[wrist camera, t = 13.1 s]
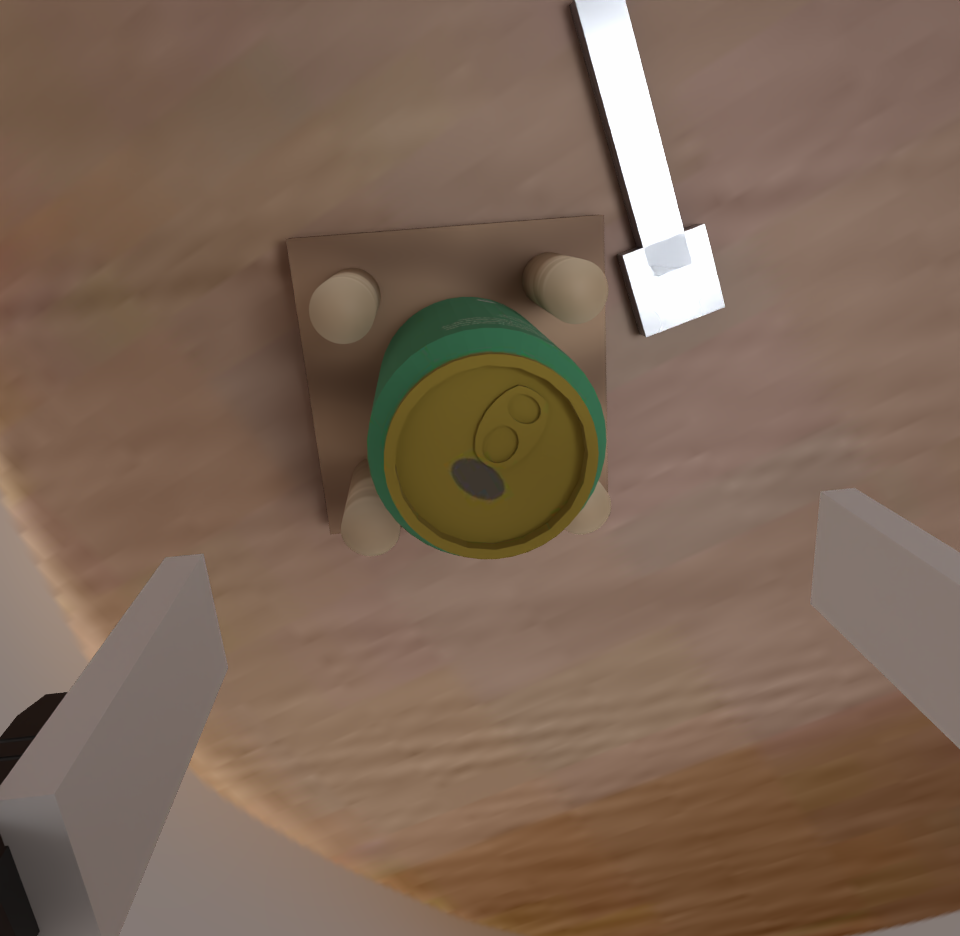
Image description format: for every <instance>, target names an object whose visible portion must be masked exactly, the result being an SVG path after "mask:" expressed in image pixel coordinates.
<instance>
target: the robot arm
mask: <svg viewBox="0 0 960 936" xmlns="http://www.w3.org/2000/svg"><path fill="white" fill-rule="evenodd" d="M811 605H812V606H813V607H814V608H815V609H816V610H817V611H818V612H820V613H821V614H822V615H823V616H824V617H825V618H826V619H827V620H828V621H829V622H830V623H831V624H832V625H833V626H834V627H835V628H836V629H837V630H838V631H839V632H840V633H841V634H842V635H843V636H844V637H845V638H846V639H847V640H848V641H849V642H850V643H851V644H852V645H853V646H854V647H855V648H857V649H858V650H859V651H860V652H861V653H862V654H863V655H864V656H865V657H866V658H867V659H868V660H869V661H870V662H871V663H872V664H873V665H874V666H875V667H876V668H877V669H878V670H879V671H880V672H881V673H882V674H883V675H884V676H885V677H886V678H887V679H888V680H889V681H890V682H891V683H892V684H894V685H895V686H896V687H897V688H898V689H899V690H900V691H901V692H902V693H903V694H904V695H905V696H906V697H907V698H908V699H909V700H910V701H911V702H912V703H913V704H914V705H915V706H916V707H917V708H918V709H919V710H920V711H921V712H922V713H923V714H924V715H925V716H926V717H927V718H928V719H929V720H931V721H932V722H933V723H934V724H935V725H936V726H937V727H938V728H939V729H940V730H941V731H942V732H943V733H944V734H945V735H946V736H947V737H948V738H949V739H950V740H951V741H952V742H953V743H954V744H955V745H956V746H957V747H958V748H959V749H960V552H958V551H956V550H955V549H953V548H951V547H950V546H948V545H947V544H945V543H943V542H942V541H940V540H938V539H937V538H935V537H934V536H932V535H930V534H929V533H927V532H925V531H924V530H922V529H921V528H919V527H917V526H916V525H914V524H912V523H911V522H909V521H908V520H906V519H904V518H903V517H901V516H899V515H898V514H896V513H894V512H893V511H891V510H890V509H888V508H886V507H885V506H883V505H881V504H880V503H878V502H877V501H875V500H873V499H872V498H870V497H868V496H867V495H865V494H864V493H862V492H860V491H859V490H857V489H855V488H850V489H840V490H830V491H821V492H820V503H819V514H818V525H817V536H816V548H815V559H814V570H813V581H812V592H811ZM227 669H228V665H227V660H226V656H225V651H224V646H223V642H222V637H221V633H220V628H219V623H218V619H217V614H216V610H215V605H214V600H213V596H212V591H211V586H210V582H209V577H208V573H207V568H206V563H205V559H204V554H195V555H185V556H175V557H165V559H164V560H163V561H162V563H161V564H160V566H159V567H158V568H157V570H156V571H155V573H154V574H153V575H152V577H151V578H150V579H149V581H148V582H147V584H146V585H145V586H144V588H143V589H142V590H141V592H140V593H139V595H138V596H137V597H136V599H135V600H134V602H133V603H132V604H131V606H130V607H129V608H128V610H127V611H126V613H125V614H124V615H123V617H122V618H121V619H120V621H119V622H118V624H117V625H116V626H115V628H114V629H113V631H112V632H111V633H110V635H109V636H108V637H107V639H106V640H105V642H104V643H103V644H102V646H101V647H100V648H99V650H98V651H97V653H96V654H95V655H94V657H93V658H92V660H91V661H90V662H89V664H88V665H87V666H86V668H85V669H84V671H83V672H82V673H81V675H80V676H79V678H78V679H77V681H76V682H75V683H74V685H73V686H72V687H71V689H70V690H69V691H68V692H64V693H55V694H46V695H44V696H43V697H42V698H40V699H39V700H38V701H37V702H35V703H34V704H32V705H31V706H30V707H28V708H27V709H26V710H25V711H23V712H22V713H21V714H19V715H18V716H17V717H16V718H15V719H14V720H13V722H12V723H11V724H10V726H9V727H8V728H7V729H6V731H5V732H4V733H3V734H2V736H1V737H0V936H119V934H120V932H121V929H122V927H123V924H124V922H125V919H126V917H127V914H128V912H129V909H130V907H131V905H132V902H133V900H134V897H135V895H136V892H137V890H138V887H139V885H140V883H141V880H142V878H143V875H144V873H145V870H146V868H147V865H148V863H149V860H150V858H151V856H152V853H153V851H154V848H155V846H156V843H157V841H158V838H159V836H160V833H161V831H162V829H163V826H164V824H165V821H166V819H167V816H168V814H169V812H170V809H171V807H172V804H173V802H174V799H175V797H176V794H177V792H178V789H179V787H180V784H181V782H182V780H183V777H184V775H185V772H186V770H187V767H188V765H189V762H190V760H191V758H192V755H193V753H194V750H195V748H196V745H197V743H198V740H199V738H200V736H201V733H202V731H203V728H204V726H205V723H206V721H207V718H208V716H209V713H210V711H211V709H212V706H213V704H214V701H215V699H216V696H217V694H218V691H219V689H220V687H221V684H222V682H223V679H224V677H225V674H226V672H227Z"/></svg>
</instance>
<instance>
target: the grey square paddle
mask: <svg viewBox="0 0 960 936" xmlns="http://www.w3.org/2000/svg"><path fill="white" fill-rule="evenodd" d="M569 6H570V10H571V13H572V17H573V20H574V24H575V28H576V31H577V35H578V38H579V42H580V46H581V49H582V53H583V56H584V60H585V64H586V67H587V71H588V74H589V78H590V82H591V85H592V89H593V92H594V96H595V99H596V103H597V107H598V110H599V114H600V117H601V121H602V125H603V128H604V132H605V135H606V139H607V143H608V146H609V150H610V153H611V157H612V161H613V164H614V168H615V171H616V175H617V178H618V182H619V186H620V189H621V193H622V196H623V200H624V204H625V207H626V211H627V214H628V218H629V222H630V225H631V229H632V232H633V236H634V240H635V243H636V247H635V248H633V249H630V250H628V251H625V252H622V253H620V254H617V257H618V261H619V264H620V268H621V271H622V275H623V278H624V282H625V285H626V289H627V292H628V296H629V299H630V302H631V306H632V309H633V313H634V316H635V320H636V323H637V327H638V330H639V334H641V335H643V336H645V337H648V336H651V335H653V334H656V333H658V332H661V331H664V330H666V329H669V328H671V327H674V326H677V325H679V324H682V323H684V322H687V321H690V320H692V319H695V318H697V317H700V316H703V315H705V314H708V313H710V312H713V311H716V310H718V309H721V308H723V307H725V305H724V301H723V297H722V293H721V289H720V285H719V280H718V276H717V272H716V268H715V264H714V260H713V256H712V252H711V248H710V244H709V240H708V235H707V231H706V227H705V224H695V225H692V226H690V227H687V228H685V229H683V225H682V221H681V217H680V213H679V210H678V206H677V202H676V198H675V194H674V190H673V186H672V182H671V178H670V174H669V170H668V166H667V162H666V159H665V155H664V151H663V147H662V143H661V139H660V135H659V131H658V127H657V123H656V119H655V115H654V111H653V108H652V104H651V100H650V96H649V92H648V88H647V84H646V80H645V76H644V72H643V68H642V64H641V60H640V57H639V53H638V49H637V45H636V41H635V37H634V33H633V29H632V25H631V21H630V17H629V13H628V9H627V6H626V2H625V0H573V1H572V3H571V4H570V5H569Z"/></svg>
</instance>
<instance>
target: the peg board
mask: <svg viewBox="0 0 960 936" xmlns="http://www.w3.org/2000/svg"><path fill="white" fill-rule="evenodd" d="M286 244H287V251H288V257H289V264H290V270H291V277H292V284H293V290H294V297H295V304H296V310H297V317H298V323H299V330H300V337H301V343H302V350H303V356H304V363H305V370H306V376H307V383H308V389H309V396H310V403H311V409H312V416H313V422H314V429H315V436H316V442H317V449H318V455H319V462H320V469H321V475H322V482H323V489H324V495H325V502H326V508H327V515H328V522H329V528H330V534H339V533H341V534H342V538H343V540H344V542H345V543H346V545H347V546H348V547H349V548H350V549H351V550H352V551H354V552H356V553H358V554H360V555H364V556H378V555H381V554H384V553H386V552H387V551H389V550H390V549H391V548H392V547H393V546H394V545H395V544H396V542H397V541H398V538H399V535H400V527H402V526H401V525H400V524H399V523H398V522H397V521H396V520H395V519H394V518H393V516H392V515H391V514H390V513H389V511H388V510H387V509H386V508H385V506H384V504H383V502H382V501H381V499H380V497H379V495H378V494H377V491H376V489H375V486H374V483H373V481H372V478H371V475H370V469H369V464H368V459H367V436H368V429H369V422H370V417H371V412H372V407H373V402H374V397H375V392H376V387H377V382H378V377H379V373H380V368H381V363H382V360H383V357H384V354H385V351H386V349H387V347H388V345H389V343H390V341H391V339H392V338H393V336H394V335H395V334H396V332H397V331H398V330H399V328H400V327H401V326H402V325H403V324H404V323H405V322H406V321H407V320H408V319H409V318H410V317H412V316H413V315H414V314H416V313H417V312H419V311H420V310H421V309H423V308H425V307H427V306H429V305H431V304H433V303H436V302H439V301H442V300H446V299H450V298H457V297H479V298H484V299H490V300H493V301H496V302H498V303H501V304H504V305H506V306H508V307H509V308H511V309H513V310H515V311H516V312H518V313H519V314H520V315H521V316H523V317H524V318H525V319H527V320H528V321H529V322H530V323H531V324H532V325H533V326H535V327H536V328H537V329H538V330H539V331H540V332H541V333H542V334H544V335H545V336H546V337H547V338H548V339H549V340H550V341H552V342H553V343H554V344H555V345H556V346H557V347H558V348H560V349H561V350H562V351H563V352H564V353H565V354H566V355H567V356H569V357H570V358H571V359H572V360H573V361H574V362H575V363H576V365H577V366H578V367H579V368H580V369H581V370H582V371H583V372H584V374H585V375H586V377H587V378H588V380H589V381H590V383H591V384H592V386H593V388H594V390H595V392H596V394H597V397H598V399H599V401H600V404H601V407H602V411H603V415H604V419H605V426H606V440H607V397H606V328H605V303H606V300H607V297H608V283H607V280H606V277H605V260H604V215H589V216H576V217H563V218H550V219H536V220H523V221H510V222H497V223H484V224H471V225H458V226H445V227H432V228H418V229H405V230H392V231H379V232H366V233H353V234H340V235H327V236H313V237H300V238H289V239H286ZM610 510H611V501H610V497H609V495H608V465H607V441H606V452H605V460H604V464H603V468H602V472H601V476H600V478H599V480H598V483H597V485H596V487H595V490H594V492H593V494H592V495H591V497H590V498H589V500H588V502H587V503H586V505H585V506H584V508H583V509H582V510H581V511H580V512H579V514H578V515H577V516H576V517H575V518H574V520H573V521H572V522H571V523H570V524H569V525H568V526H567V527H566V528H565V529H564V530H566V531H568V532H570V533H573V534H588V533H591V532H593V531H595V530H597V529H599V528H600V527H601V526H602V525H603V524H604V523H605V522H606V520H607V519H608V517H609V514H610Z"/></svg>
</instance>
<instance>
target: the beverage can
mask: <svg viewBox="0 0 960 936" xmlns="http://www.w3.org/2000/svg"><path fill="white" fill-rule="evenodd" d="M606 441H607V440H606V426H605V419H604V415H603V411H602V407H601V404H600V401H599V399H598V397H597V394H596V392H595V390H594V388H593V386H592V384H591V383H590V381H589V380H588V378H587V377H586V375H585V374H584V372H583V371H582V370H581V369H580V368H579V367H578V366H577V365H576V363H575V362H574V361H573V360H572V359H571V358H570V357H569V356H567V355H566V354H565V353H564V352H563V351H562V350H561V349H560V348H558V347H557V346H556V345H555V344H554V343H553V342H552V341H550V340H549V339H548V338H547V337H546V336H545V335H544V334H542V333H541V332H540V331H539V330H538V329H537V328H536V327H535V326H533V325H532V324H531V323H530V322H529V321H528V320H527V319H525V318H524V317H523V316H521V315H520V314H519V313H518V312H516V311H515V310H513V309H511V308H509V307H508V306H506V305H504V304H501V303H498V302H496V301H493V300H490V299H484V298H479V297H457V298H450V299H446V300H442V301H439V302H436V303H433V304H431V305H429V306H427V307H425V308H423V309H421V310H420V311H419V312H417V313H416V314H414V315H413V316H412V317H410V318H409V319H408V320H407V321H406V322H405V323H404V324H403V325H402V326H401V327H400V328H399V330H398V331H397V332H396V334H395V335H394V336H393V338H392V339H391V341H390V343H389V345H388V347H387V349H386V351H385V354H384V357H383V360H382V363H381V368H380V373H379V377H378V382H377V387H376V392H375V397H374V402H373V407H372V412H371V417H370V422H369V429H368V436H367V459H368V464H369V469H370V475H371V478H372V481H373V483H374V486H375V489H376V491H377V494H378V495H379V497H380V499H381V501H382V502H383V504H384V506H385V508H386V509H387V510H388V511H389V513H390V514H391V515H392V516H393V518H394V519H395V520H396V521H397V522H398V523H399V524H400V525H401V526H402V527H403V528H404V529H405V530H406V531H408V532H409V533H410V534H411V535H413V536H414V537H416V538H417V539H419V540H420V541H422V542H423V543H425V544H427V545H429V546H432V547H434V548H436V549H438V550H440V551H444V552H447V553H451V554H454V555H458V556H463V557H468V558H476V559H500V558H506V557H513V556H516V555H519V554H523V553H526V552H529V551H531V550H533V549H535V548H537V547H540V546H542V545H544V544H545V543H547V542H548V541H550V540H551V539H553V538H554V537H556V536H557V535H558V534H559V533H560V532H562V531H563V530H564V529H565V528H566V527H567V526H568V525H569V524H570V523H571V522H572V521H573V520H574V518H575V517H576V516H577V515H578V514H579V512H580V511H581V510H582V509H583V508H584V506H585V505H586V503H587V502H588V500H589V498H590V497H591V495H592V494H593V492H594V490H595V487H596V485H597V483H598V480H599V478H600V476H601V472H602V468H603V464H604V460H605V452H606Z"/></svg>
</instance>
